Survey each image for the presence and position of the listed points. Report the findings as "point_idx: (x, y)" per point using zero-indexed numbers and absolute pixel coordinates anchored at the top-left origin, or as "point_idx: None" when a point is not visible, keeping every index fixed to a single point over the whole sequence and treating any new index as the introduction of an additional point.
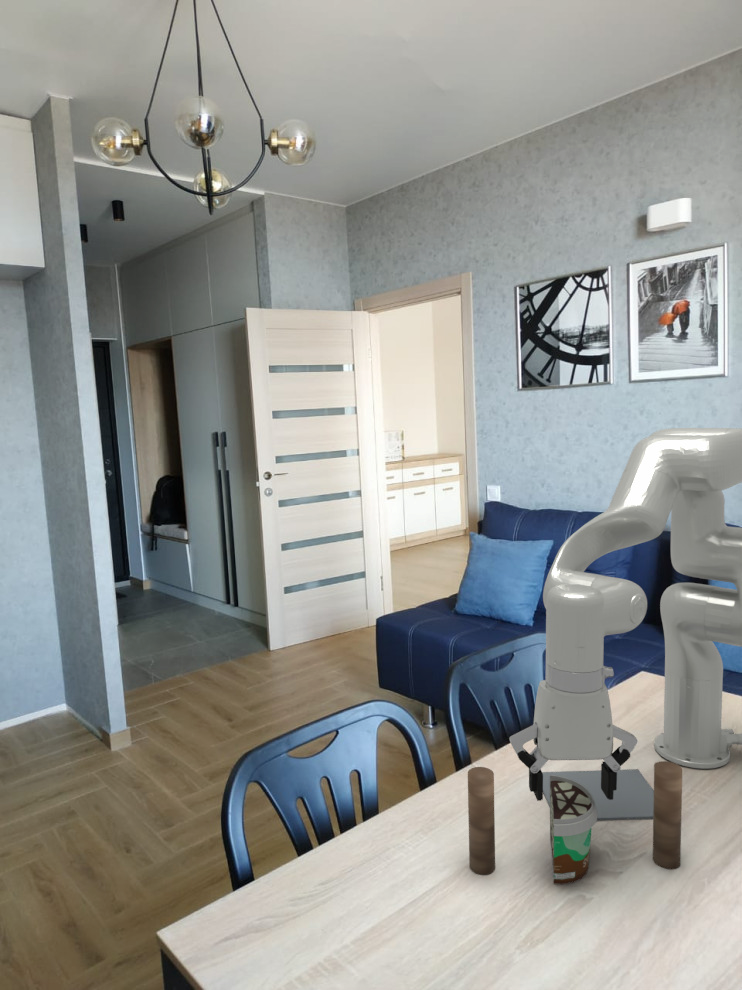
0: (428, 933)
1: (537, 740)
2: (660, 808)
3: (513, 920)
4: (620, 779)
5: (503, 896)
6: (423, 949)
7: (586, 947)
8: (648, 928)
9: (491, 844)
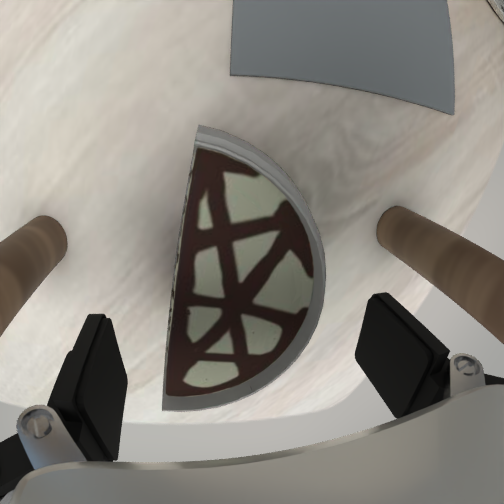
0: (13, 363)
1: (34, 479)
2: (451, 297)
3: None
4: None
5: (85, 314)
6: (17, 381)
7: None
8: (292, 364)
9: (37, 287)
